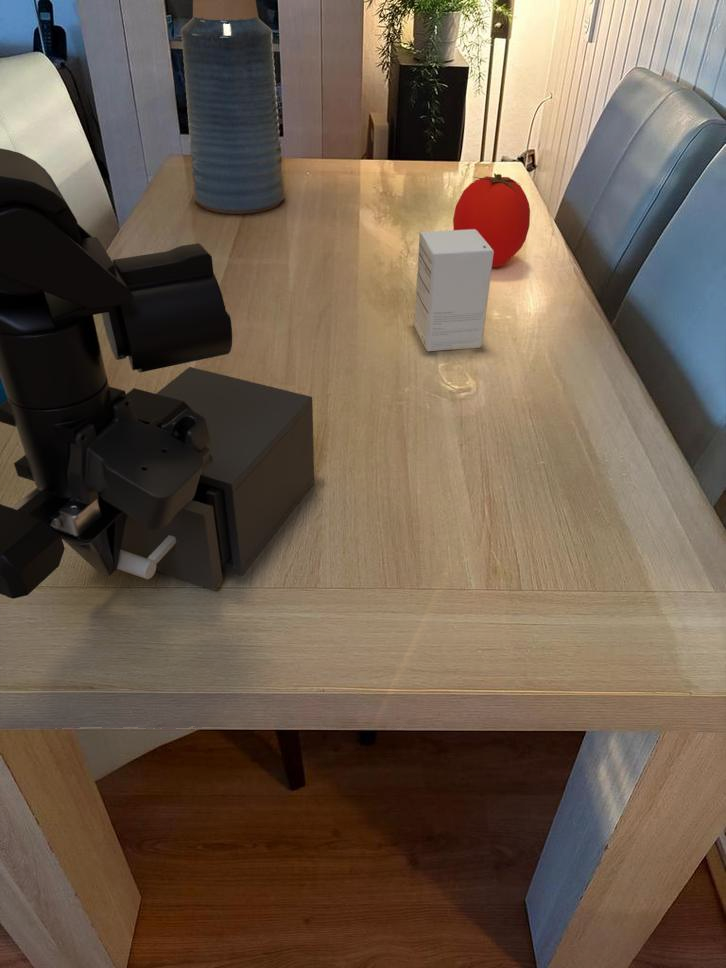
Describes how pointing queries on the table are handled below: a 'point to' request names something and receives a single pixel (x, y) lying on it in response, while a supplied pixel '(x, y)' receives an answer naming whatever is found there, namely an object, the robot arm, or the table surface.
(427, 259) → the white packaging box
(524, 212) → the tomato
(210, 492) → the drawer
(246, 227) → the table surface
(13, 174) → the robot arm
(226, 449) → the cabinet casing
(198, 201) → the vase
